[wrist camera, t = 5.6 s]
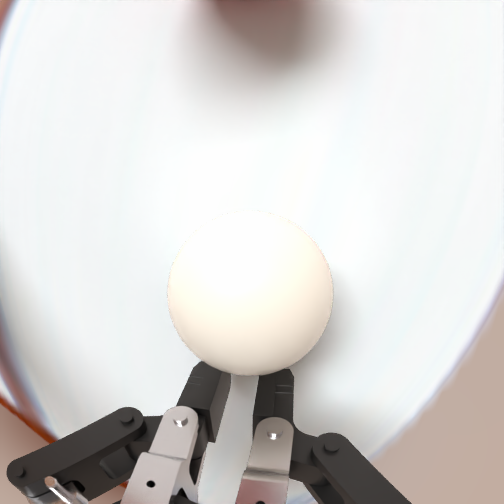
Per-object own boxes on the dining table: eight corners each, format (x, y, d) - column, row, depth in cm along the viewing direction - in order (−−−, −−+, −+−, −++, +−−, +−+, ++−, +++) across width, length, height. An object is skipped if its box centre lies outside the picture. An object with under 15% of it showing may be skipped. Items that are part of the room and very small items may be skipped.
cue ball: (240, 337, 13) (213, 425, 8) (173, 242, 12) (103, 296, 7) (345, 287, 12) (374, 370, 7) (282, 174, 11) (274, 186, 6)
